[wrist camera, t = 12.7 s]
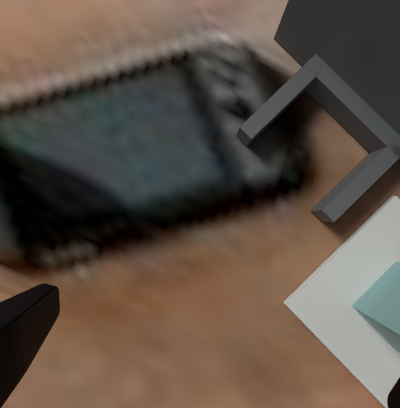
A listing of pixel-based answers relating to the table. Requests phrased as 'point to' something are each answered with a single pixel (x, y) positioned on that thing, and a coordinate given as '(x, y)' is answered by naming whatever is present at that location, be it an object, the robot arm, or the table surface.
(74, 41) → the table surface
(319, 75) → the charging dock
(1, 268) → the table surface
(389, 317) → the key block
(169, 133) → the table surface
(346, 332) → the mat
